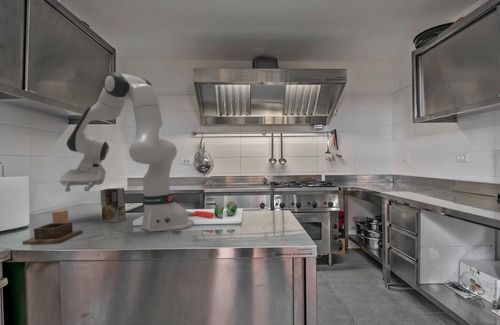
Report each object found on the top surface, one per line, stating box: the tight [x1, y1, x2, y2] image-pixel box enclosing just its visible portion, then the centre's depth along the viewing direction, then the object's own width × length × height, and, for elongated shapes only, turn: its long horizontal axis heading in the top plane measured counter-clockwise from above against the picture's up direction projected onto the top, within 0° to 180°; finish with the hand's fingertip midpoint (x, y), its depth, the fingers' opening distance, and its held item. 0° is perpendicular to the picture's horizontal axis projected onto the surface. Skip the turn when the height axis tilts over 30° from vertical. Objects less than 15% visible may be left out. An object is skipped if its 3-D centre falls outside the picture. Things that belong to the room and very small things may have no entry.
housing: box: [22, 222, 84, 245], centre depth 111 cm, size 14×14×5 cm
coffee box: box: [99, 187, 127, 223], centre depth 139 cm, size 9×6×16 cm
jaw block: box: [51, 209, 69, 223], centre depth 122 cm, size 4×4×9 cm
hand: (76, 190), depth 134 cm, fingers open, 8 cm apart
